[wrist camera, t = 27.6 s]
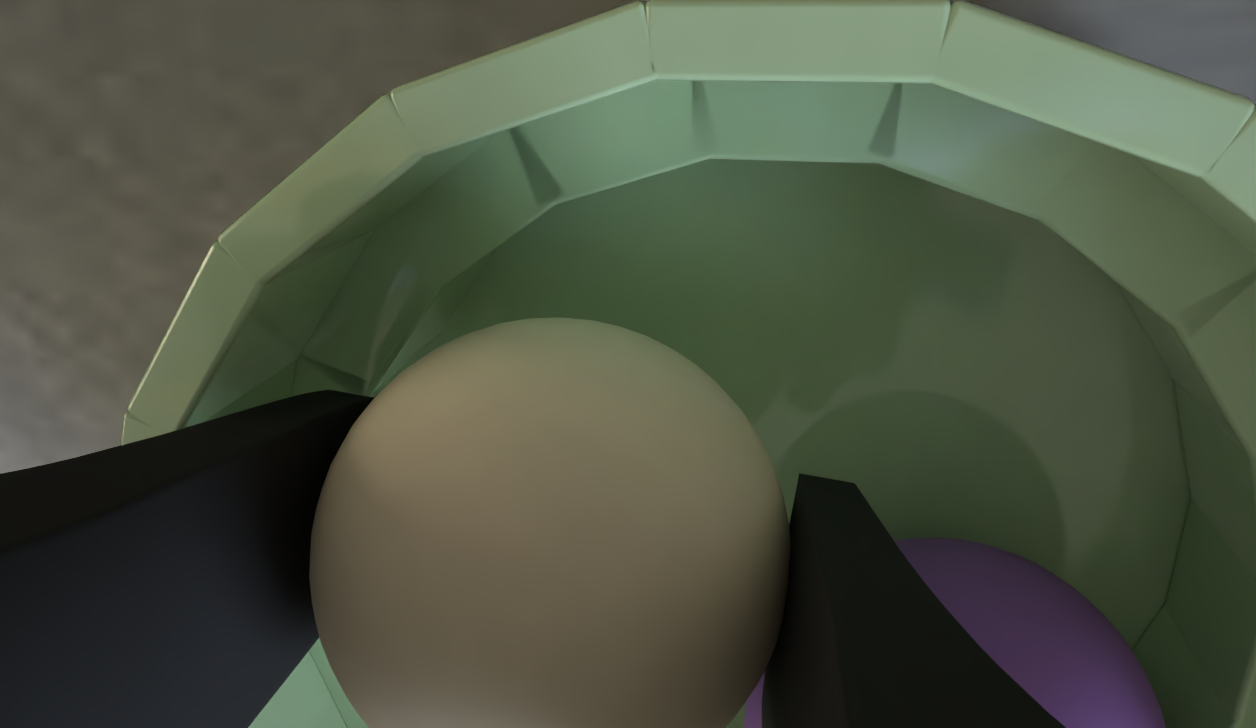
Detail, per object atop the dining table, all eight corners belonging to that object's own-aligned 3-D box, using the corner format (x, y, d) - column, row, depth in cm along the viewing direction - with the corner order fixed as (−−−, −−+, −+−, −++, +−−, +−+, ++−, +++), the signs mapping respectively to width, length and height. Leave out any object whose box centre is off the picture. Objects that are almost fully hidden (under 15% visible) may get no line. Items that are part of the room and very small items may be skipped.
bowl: (686, -253, 11) (577, -469, 6) (1552, 455, 12) (2076, 777, 7) (212, 520, 17) (-49, 742, 12) (829, 959, 18) (833, 1340, 13)
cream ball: (555, 181, 11) (372, 305, 7) (879, 430, 11) (923, 713, 7) (360, 464, 13) (115, 712, 8) (643, 668, 13) (555, 1013, 9)
